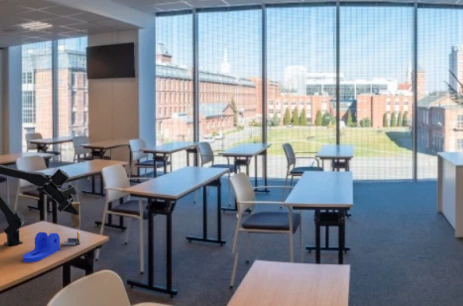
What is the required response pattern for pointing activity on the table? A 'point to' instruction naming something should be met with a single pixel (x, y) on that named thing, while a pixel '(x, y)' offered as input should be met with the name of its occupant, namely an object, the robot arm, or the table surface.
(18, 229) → the robot arm
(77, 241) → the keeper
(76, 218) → the link block
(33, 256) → the bracket
